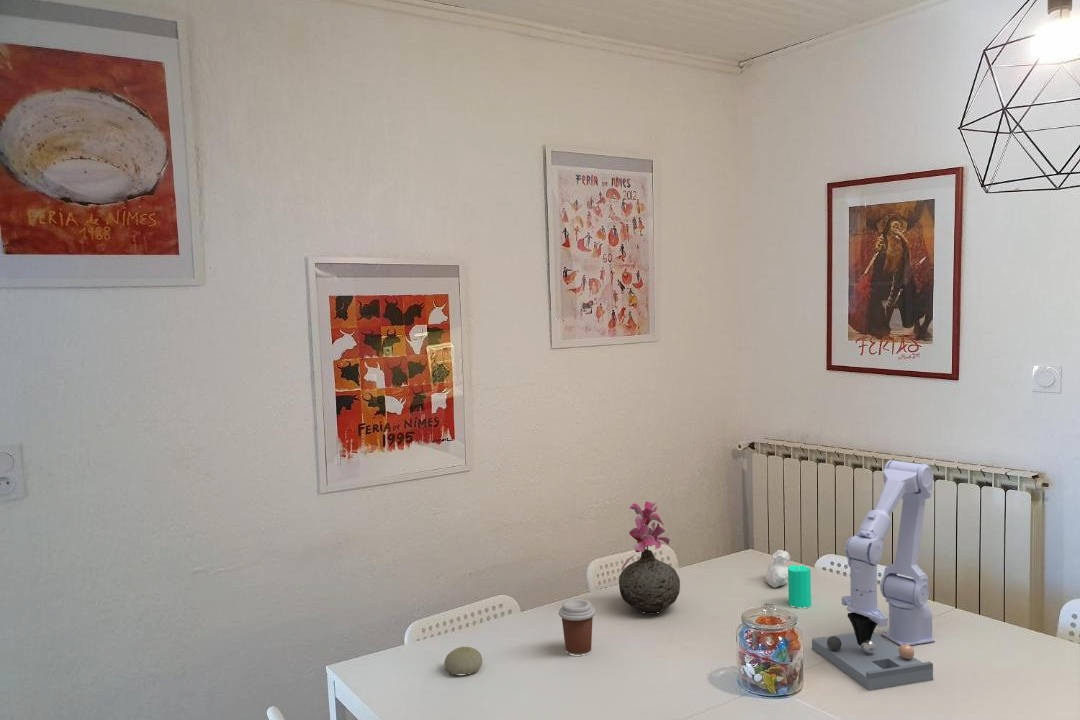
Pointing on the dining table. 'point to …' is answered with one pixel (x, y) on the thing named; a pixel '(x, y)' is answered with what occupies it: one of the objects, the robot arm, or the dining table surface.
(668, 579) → the vase
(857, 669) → the board
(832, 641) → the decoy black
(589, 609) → the coffee cup
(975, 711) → the dining table surface
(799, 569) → the candle
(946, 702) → the dining table surface
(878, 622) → the robot arm
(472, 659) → the sea urchin shell
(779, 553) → the bust
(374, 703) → the dining table surface
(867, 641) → the steel ball
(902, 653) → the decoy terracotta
